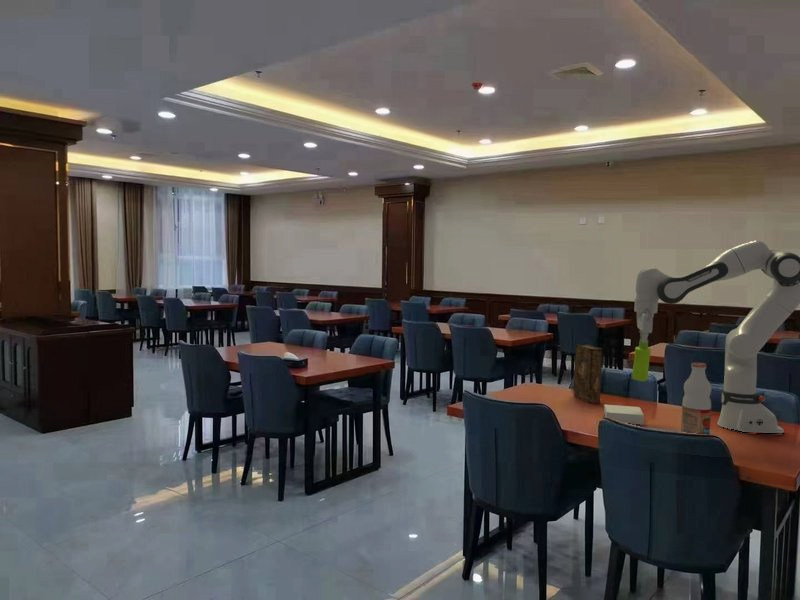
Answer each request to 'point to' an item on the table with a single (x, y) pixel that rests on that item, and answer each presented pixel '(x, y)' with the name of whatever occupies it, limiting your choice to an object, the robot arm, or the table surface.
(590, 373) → the book
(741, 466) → the table surface
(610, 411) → the plinth
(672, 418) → the table surface
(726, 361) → the robot arm
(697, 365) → the fruit juice
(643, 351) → the soap dispenser
